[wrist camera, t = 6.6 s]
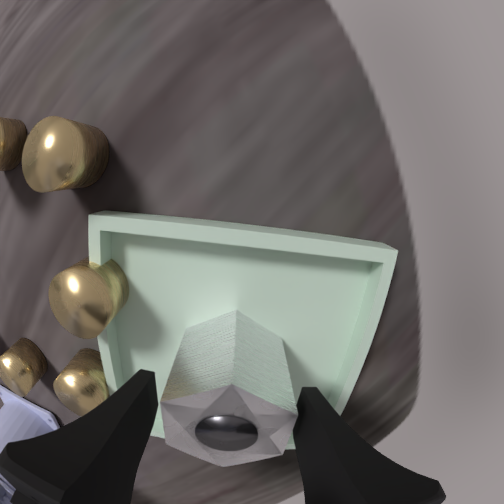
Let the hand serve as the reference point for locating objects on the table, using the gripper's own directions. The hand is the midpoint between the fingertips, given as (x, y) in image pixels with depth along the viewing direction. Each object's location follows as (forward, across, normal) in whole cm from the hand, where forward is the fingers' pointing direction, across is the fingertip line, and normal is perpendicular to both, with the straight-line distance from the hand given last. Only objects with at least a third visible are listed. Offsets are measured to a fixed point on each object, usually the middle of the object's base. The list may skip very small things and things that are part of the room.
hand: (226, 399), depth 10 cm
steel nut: (+3, 0, 0) cm, 3 cm away
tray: (+3, 0, 0) cm, 3 cm away
